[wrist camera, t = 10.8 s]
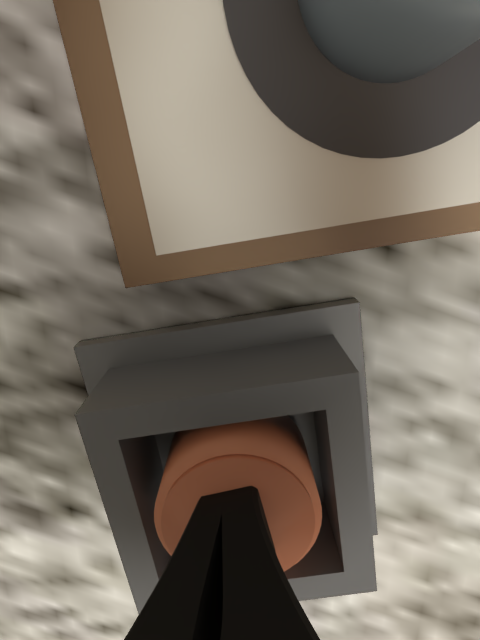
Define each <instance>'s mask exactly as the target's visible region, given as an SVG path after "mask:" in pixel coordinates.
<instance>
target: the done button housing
mask: <svg viewBox="0 0 480 640" xmlns="http://www.w3.org/2000/svg"><path fill="white" fill-rule="evenodd" d="M74 350H75V354H76V357H77V360H78V363H79V367H80V370H81V373H82V377H83V380H84V383H85V386H86V390H87V393H88V398H87V399H86V400H85V402H84V403H83V404H82V406H81V407H80V408H79V410H78V411H77V412H76V414H75V417H76V420H77V424H78V427H79V430H80V433H81V436H82V439H83V442H84V445H85V448H86V452H87V455H88V458H89V461H90V464H91V467H92V470H93V473H94V476H95V480H96V483H97V486H98V489H99V492H100V495H101V498H102V501H103V504H104V508H105V511H106V514H107V517H108V520H109V523H110V526H111V529H112V532H113V536H114V539H115V542H116V545H117V548H118V551H119V554H120V557H121V561H122V564H123V567H124V570H125V573H126V576H127V579H128V582H129V585H130V589H131V592H132V595H133V598H134V601H135V604H136V607H137V610H138V613H139V614H140V612H141V610H142V609H143V607H144V605H145V603H146V602H147V600H148V598H149V597H150V595H151V593H152V591H153V590H154V588H155V586H156V584H157V583H158V581H159V579H160V577H161V575H162V573H163V571H164V569H165V567H166V565H167V564H168V562H169V560H170V558H171V555H170V554H169V553H168V552H167V551H166V549H165V548H164V547H163V545H162V543H161V541H160V539H159V537H158V534H157V531H156V528H155V522H154V508H155V502H156V498H157V494H158V491H159V487H160V483H161V480H162V476H163V472H164V468H165V465H166V461H167V457H168V454H169V450H170V446H171V443H172V439H173V437H174V434H175V432H177V431H184V430H191V429H198V428H204V427H211V426H218V425H225V424H232V423H239V422H245V421H252V420H259V419H266V418H273V417H280V416H286V415H288V416H289V417H290V418H291V419H292V420H293V421H294V423H295V424H296V425H297V427H298V428H299V430H300V432H301V434H302V436H303V439H304V442H305V446H306V449H307V453H308V457H309V460H310V464H311V468H312V471H313V475H314V479H315V482H316V486H317V490H318V493H319V497H320V501H321V506H322V522H321V527H320V531H319V534H318V536H317V539H316V541H315V543H314V544H313V546H312V547H311V549H310V550H309V552H308V553H307V554H306V555H305V556H304V557H303V558H302V559H301V560H300V561H299V562H298V563H297V564H295V565H294V566H292V567H291V568H289V569H288V570H286V571H284V573H285V575H286V577H287V579H288V581H289V583H290V585H291V587H292V589H293V591H294V593H295V595H296V597H297V599H298V601H302V600H310V599H318V598H326V597H334V596H342V595H349V594H357V593H365V592H373V591H377V585H376V572H375V560H374V548H373V536H372V535H378V533H377V520H376V507H375V494H374V481H373V468H372V455H371V442H370V429H369V416H368V403H367V390H366V377H365V365H364V352H363V339H362V326H361V313H360V302H359V301H357V300H356V299H355V298H351V299H345V300H338V301H332V302H326V303H319V304H313V305H307V306H300V307H294V308H288V309H281V310H275V311H269V312H262V313H256V314H250V315H243V316H237V317H231V318H224V319H218V320H212V321H205V322H199V323H193V324H186V325H180V326H174V327H167V328H161V329H155V330H148V331H142V332H136V333H129V334H123V335H117V336H110V337H104V338H98V339H91V340H85V341H80V342H79V343H78V344H77V345H76V346H75V347H74Z"/></svg>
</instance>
